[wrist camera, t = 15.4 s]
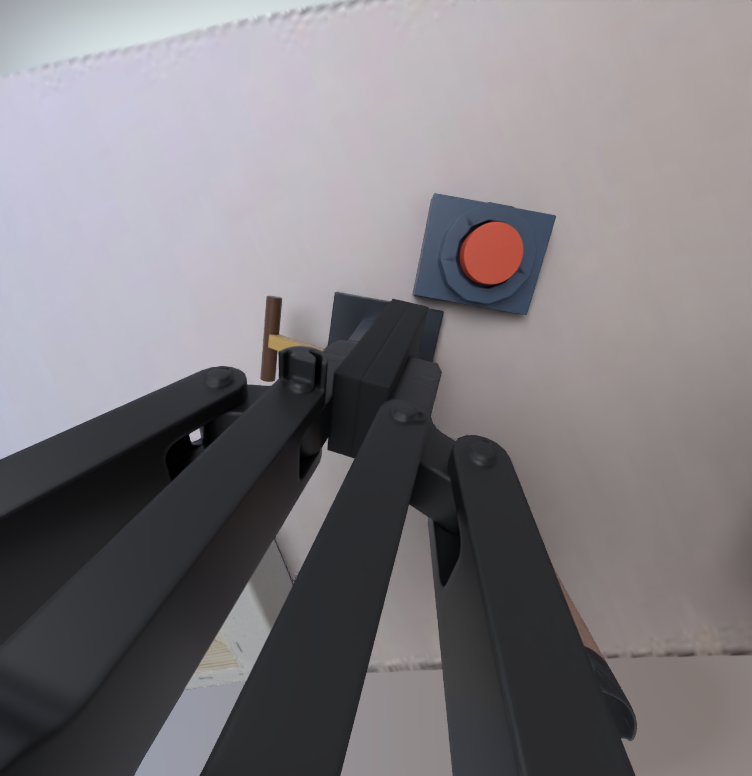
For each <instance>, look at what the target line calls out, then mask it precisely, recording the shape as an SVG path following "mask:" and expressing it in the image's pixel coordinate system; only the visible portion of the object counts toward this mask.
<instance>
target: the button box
mask: <svg viewBox="0 0 752 776" xmlns="http://www.w3.org/2000/svg"><path fill="white" fill-rule="evenodd" d="M555 218H556V216H555V215H550V214H545V213H539V212H534V211H528V210H523V209H517V208H515V207H512V206H507V205H501V204H496V203H491V202H489V203H488V202H487V203H485V202H480V201H474V200H469V199H463V198H458V197H452V196H447V195H442V194H436V193H435V194H434V195H433V197H432V199H431V203H430V208H429V213H428V219H427V224H426V229H425V234H424V239H423V244H422V249H421V254H420V259H419V264H418V269H417V275H416V280H415V285H414V290H413V294H414V295H417V296H423V297H428V298H434V299H439V300H445V301H450V302H456V303H462V304H467V305H473V306H478V307H484V308H489V309H495V310H501V311H506V312H512V313H517V314H523V315H527V313H528V309H529V306H530V302H531V299H532V296H533V292H534V289H535V286H536V282H537V279H538V275H539V272H540V269H541V265H542V262H543V259H544V255H545V252H546V248H547V245H548V242H549V238H550V235H551V232H552V228H553V225H554V222H555ZM490 222H503V223H506V224H509V225H510V226H512V227H513V228H514V229H515V230H516V231H517V232H518V233H519V235H520V237H521V239H522V242H523V258H522V261H521V264H520V266H519V268H518V269H517V271H516V272H515V273H514V274H513V275H512V276H511V277H510V278H509V279H507V280H505V281H503V282H501V283H498V284H479V283H476V282H473V281H472V280H470V279H469V278H468V277H467V276H466V275H465V274H464V272H463V270H462V268H461V265H460V250H461V247H462V244H463V242H464V240H465V239H466V238H467V236H468V235H469V234H470V233H471V232H473V231H474V230H476V229H477V228H479V227H480V226H482V225H484V224H487V223H490Z"/></svg>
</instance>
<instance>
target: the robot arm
mask: <svg viewBox="0 0 752 776" xmlns="http://www.w3.org/2000/svg"><path fill="white" fill-rule="evenodd" d="M427 311H428V307H426V306H422V305H418V304H413V303H409V302H405V301H400V300H396V299H392V301H391V302H390V303H389V304H388V306H387V307H386V308H385V309H384V311H383V312H382V313H381V314H380V316H379V317H378V318H377V319H376V321H375V322H374V323H373V324H372V326H371V327H370V328H369V329H368V331H367V332H366V333H365V334H364V336H363V337H362V338H361V339H360V340H359V342H358V343H357V344H355V343H351V342H347V341H343V340H339V341H336V342H334V343H331V344H329V345H328V346H327V347H326V348H325V349H324V350H323V352H322V351H321V350H318V349H316V348H313V347H306V346H293V347H288V348H285V349H283V350H281V351H279V379H278V380H277V381H276V382H275V383H274V384H273V385H272V386H261V385H247V379H246V376H245V373H243V372H242V371H241V370H239V369H236V368H233V367H227V366H226V367H225V366H219V367H211V368H208V369H205V370H202V371H200V372H197V373H195V374H193V375H190V376H188V377H186V378H184V379H181V380H179V381H177V382H175V383H172V384H170V385H168V386H166V387H163V388H161V389H159V390H157V391H154V392H152V393H150V394H148V395H145V396H143V397H141V398H139V399H136V400H134V401H132V402H129V403H127V404H125V405H123V406H120V407H118V408H116V409H114V410H111V411H109V412H107V413H105V414H102V415H100V416H98V417H96V418H93V419H91V420H89V421H87V422H84V423H82V424H80V425H78V426H75V427H73V428H71V429H69V430H66V431H64V432H62V433H59V434H57V435H55V436H53V437H50V438H48V439H46V440H44V441H41V442H39V443H37V444H35V445H32V446H30V447H28V448H26V449H23V450H21V451H19V452H17V453H14V454H12V455H10V456H8V457H5V458H3V459H1V460H0V776H134V775H135V773H136V771H137V769H138V767H139V765H140V764H141V762H142V760H143V758H144V757H145V755H146V753H147V751H148V750H149V748H150V746H151V745H152V743H153V741H154V740H155V738H156V736H157V735H158V733H159V731H160V730H161V728H162V726H163V725H164V723H165V721H166V720H167V718H168V716H169V715H170V713H171V711H172V709H173V708H174V706H175V704H176V703H177V701H178V699H179V698H180V696H181V694H182V693H183V691H184V689H185V688H186V686H187V684H188V683H189V681H190V679H191V678H192V676H193V674H194V673H195V671H196V669H197V668H198V666H199V664H200V662H201V661H202V659H203V657H204V656H205V654H206V652H207V651H208V649H209V647H210V646H211V644H212V642H213V641H214V639H215V637H216V636H217V634H218V632H219V631H220V629H221V627H222V626H223V624H224V622H225V620H226V619H227V617H228V615H229V614H230V612H231V610H232V609H233V607H234V605H235V604H236V602H237V600H238V599H239V597H240V595H241V594H242V592H243V590H244V589H245V587H246V585H247V584H248V582H249V580H250V579H251V577H252V575H253V573H254V572H255V570H256V568H257V567H258V565H259V563H260V562H261V560H262V558H263V557H264V555H265V553H266V552H267V550H268V548H269V547H270V545H271V543H272V542H273V540H274V538H275V537H276V535H277V533H278V531H279V530H280V528H281V526H282V525H283V523H284V521H285V520H286V518H287V516H288V515H289V513H290V511H291V510H292V508H293V506H294V505H295V503H296V501H297V500H298V498H299V496H300V495H301V493H302V491H303V489H304V488H305V486H306V484H307V483H308V481H309V479H310V478H311V476H312V474H313V473H314V471H315V469H316V468H317V466H318V464H319V463H320V460H321V456H322V446H323V445H324V443H325V442H326V440H327V438H328V449H327V450H330V451H333V452H336V453H339V454H343V455H346V456H349V457H352V458H355V459H354V461H353V463H352V465H351V467H350V469H349V471H348V473H347V475H346V477H345V480H344V482H343V484H342V486H341V488H340V490H339V492H338V494H337V496H336V498H335V500H334V502H333V504H332V506H331V508H330V510H329V512H328V514H327V516H326V518H325V521H324V523H323V525H322V527H321V529H320V531H319V533H318V535H317V537H316V539H315V541H314V543H313V545H312V547H311V549H310V551H309V553H308V555H307V557H306V559H305V562H304V564H303V566H302V568H301V570H300V572H299V574H298V576H297V578H296V580H295V582H294V584H293V586H292V588H291V590H290V592H289V594H288V596H287V598H286V600H285V603H284V605H283V607H282V609H281V611H280V613H279V615H278V617H277V619H276V621H275V623H274V625H273V627H272V629H271V631H270V633H269V635H268V637H267V639H266V641H265V644H264V646H263V648H262V650H261V652H260V654H259V656H258V658H257V660H256V662H255V664H254V666H253V668H252V670H251V672H250V674H249V676H248V678H247V680H246V682H245V685H244V687H243V689H242V691H241V693H240V695H239V697H238V699H237V701H236V703H235V705H234V707H233V709H232V711H231V713H230V715H229V717H228V719H227V721H226V724H225V726H224V728H223V730H222V732H221V734H220V736H219V738H218V740H217V742H216V744H215V746H214V748H213V750H212V752H211V754H210V756H209V758H208V760H207V762H206V764H205V766H204V768H203V770H202V772H201V774H200V776H340V774H341V771H342V767H343V763H344V759H345V755H346V751H347V747H348V743H349V739H350V735H351V731H352V728H353V724H354V720H355V716H356V712H357V708H358V704H359V700H360V696H361V692H362V688H363V684H364V680H365V676H366V672H367V668H368V664H369V660H370V656H371V652H372V649H373V645H374V641H375V637H376V633H377V629H378V625H379V621H380V617H381V613H382V609H383V605H384V601H385V597H386V593H387V589H388V585H389V581H390V577H391V573H392V570H393V566H394V562H395V558H396V554H397V550H398V546H399V542H400V538H401V534H402V530H403V526H404V522H405V518H406V514H407V510H408V506H409V505H411V506H412V507H414V508H416V509H417V510H419V511H420V512H422V513H423V514H425V515H426V516H428V517H429V518H428V527H429V537H430V547H431V557H432V568H433V578H434V588H435V599H436V609H437V619H438V629H439V640H440V650H441V660H442V670H443V681H444V689H445V690H444V691H445V701H446V711H447V721H448V731H449V742H450V752H451V761H452V762H451V763H452V772H453V776H635V773H634V771H633V768H632V766H631V763H630V761H629V758H628V756H627V753H626V751H625V748H624V746H623V743H622V741H621V738H620V735H619V733H618V730H617V728H616V725H615V723H614V720H613V718H612V715H611V713H610V710H609V708H608V705H607V702H606V700H605V697H604V695H603V692H602V690H601V687H600V685H599V682H598V680H597V677H596V675H595V672H594V670H593V667H592V664H591V662H590V659H589V657H588V654H587V652H586V649H585V647H584V644H583V642H582V639H581V637H580V634H579V632H578V629H577V627H576V624H575V621H574V619H573V616H572V614H571V611H570V609H569V606H568V604H567V601H566V599H565V596H564V594H563V591H562V589H561V586H560V583H559V581H558V578H557V576H556V573H555V571H554V568H553V566H552V563H551V561H550V558H549V556H548V553H547V551H546V548H545V545H544V543H543V540H542V538H541V535H540V533H539V530H538V528H537V525H536V523H535V520H534V518H533V515H532V513H531V510H530V507H529V505H528V502H527V500H526V497H525V495H524V492H523V490H522V487H521V485H520V482H519V480H518V477H517V475H516V472H515V469H514V467H513V464H512V462H511V459H510V457H509V456H508V454H507V453H506V451H505V450H504V449H503V448H502V447H501V446H499V445H498V444H497V443H495V442H493V441H491V440H489V439H488V438H485V437H481V436H477V435H466V436H463V437H460V438H458V439H457V440H456V441H455V440H453V439H451V438H449V437H447V436H446V435H444V434H443V433H441V432H440V431H439V430H438V429H437V428H436V427H435V425H434V424H433V422H432V419H431V413H432V409H433V405H434V401H435V397H436V393H437V389H438V385H439V381H440V377H441V373H442V372H441V370H440V368H439V366H438V364H437V363H433V362H429V361H426V360H422V359H418V358H417V354H418V350H419V346H420V341H421V337H422V333H423V328H424V324H425V320H426V315H427ZM198 428H199V429H200V434H201V438H200V439H199V440H196V441H194V442H191V441H190V437H189V434H190V433H192V432H193V431H195V430H197V429H198Z"/></svg>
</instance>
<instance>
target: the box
mask: <svg viewBox="0 0 752 776" xmlns="http://www.w3.org/2000/svg"><path fill="white" fill-rule="evenodd" d="M292 586H293V584H292V581H291V579H290V576H289V574H288V572H287V569H286V566H285V564H284V562H283V559H282V557H281V555H280V552H279V550H278V547H277V545H276V543H275V540H273V542H272V543H271V545H270V547H269V548H268V550H267V552H266V553H265V555H264V557H263V558H262V560H261V562H260V563H259V565H258V567H257V568H256V570H255V572H254V573H253V575H252V577H251V579H250V580H249V582H248V584H247V585H246V587H245V589H244V590H243V592H242V594H241V595H240V597H239V599H238V600H237V602H236V604H235V605H234V607H233V609H232V610H231V612H230V614H229V615H228V617H227V619H226V620H225V622H224V624H223V626H222V627H221V629H220V631H219V632H218V634H217V636H216V637H215V639H214V641H213V642H212V644H211V646H210V647H209V649H208V651H207V652H206V654H205V656H204V657H203V659H202V661H201V662H200V664H199V666H198V668H197V669H196V671H195V673H194V674H193V676H192V678H191V679H190V681H189V683H188V684H187V686H186V688H185V689H184V690H188V689H195V688H201V687H208V686H214V685H221V684H228V683H233V682H240V681H246V680H247V678H248V676H249V674H250V672H251V670H252V668H253V666H254V664H255V662H256V660H257V658H258V656H259V654H260V652H261V650H262V648H263V646H264V644H265V641H266V639H267V637H268V635H269V633H270V631H271V629H272V627H273V625H274V623H275V621H276V619H277V617H278V615H279V613H280V611H281V609H282V607H283V605H284V603H285V600H286V598H287V596H288V594H289V592H290V590H291V588H292Z"/></svg>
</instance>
